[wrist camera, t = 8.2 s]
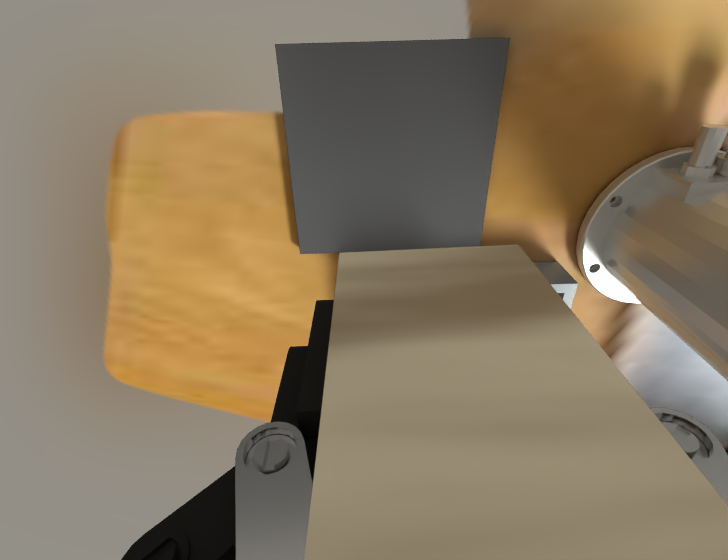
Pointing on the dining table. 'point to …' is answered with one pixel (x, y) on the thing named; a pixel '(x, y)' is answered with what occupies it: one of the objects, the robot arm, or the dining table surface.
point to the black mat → (391, 141)
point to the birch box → (489, 425)
